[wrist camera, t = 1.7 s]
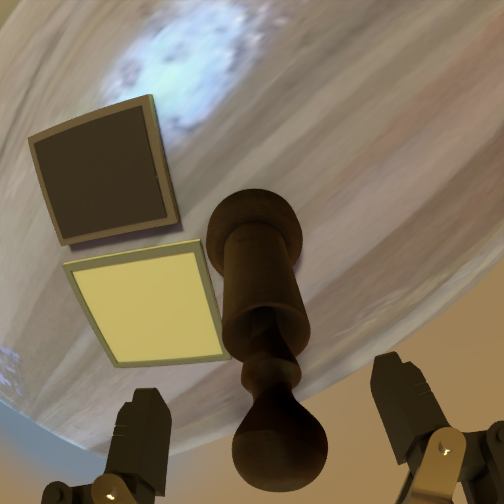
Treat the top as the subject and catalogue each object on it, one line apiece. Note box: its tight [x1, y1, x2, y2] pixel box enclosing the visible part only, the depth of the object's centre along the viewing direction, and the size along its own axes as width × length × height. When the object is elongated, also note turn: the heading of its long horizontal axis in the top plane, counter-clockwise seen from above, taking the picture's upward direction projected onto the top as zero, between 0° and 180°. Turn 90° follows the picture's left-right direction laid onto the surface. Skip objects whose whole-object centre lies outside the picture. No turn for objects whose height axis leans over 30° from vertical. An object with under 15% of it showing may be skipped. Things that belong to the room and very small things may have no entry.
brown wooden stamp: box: [206, 189, 328, 492], centre depth 15 cm, size 7×6×18 cm
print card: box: [62, 239, 231, 368], centre depth 26 cm, size 12×12×1 cm
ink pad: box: [28, 94, 180, 246], centre depth 20 cm, size 10×9×1 cm
